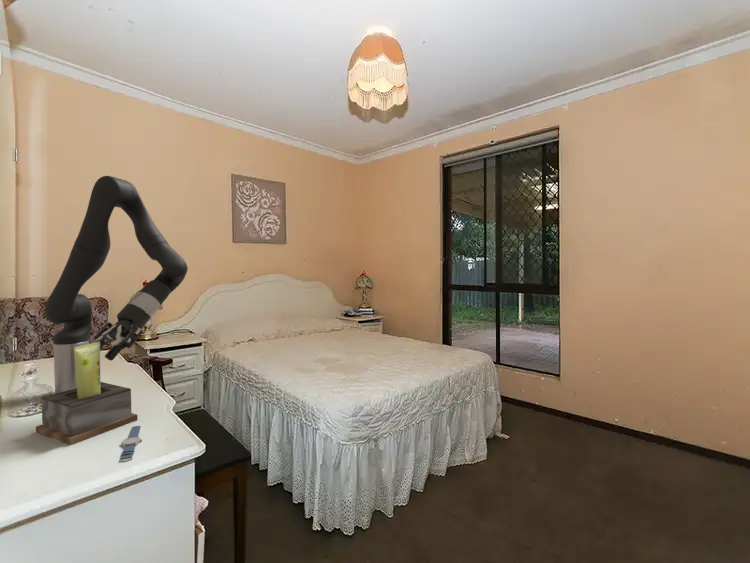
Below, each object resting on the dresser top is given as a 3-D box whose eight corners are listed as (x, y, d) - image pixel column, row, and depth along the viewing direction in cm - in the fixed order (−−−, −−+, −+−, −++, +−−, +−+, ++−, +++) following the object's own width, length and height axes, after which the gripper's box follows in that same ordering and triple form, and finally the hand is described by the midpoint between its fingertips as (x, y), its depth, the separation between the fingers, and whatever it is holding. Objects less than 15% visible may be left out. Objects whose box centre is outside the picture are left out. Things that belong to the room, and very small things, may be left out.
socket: (35, 432, 96) (34, 397, 95) (103, 410, 110) (102, 380, 110) (70, 445, 89) (69, 408, 89) (137, 419, 104) (136, 388, 103)
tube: (100, 417, 99) (98, 345, 98) (76, 422, 96) (73, 347, 95) (102, 410, 104) (99, 341, 103) (79, 414, 101) (76, 343, 100)
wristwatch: (114, 465, 80) (114, 461, 80) (127, 429, 98) (127, 425, 98) (137, 461, 82) (137, 456, 82) (146, 426, 100) (146, 422, 100)
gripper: (115, 301, 112) (72, 346, 102) (145, 303, 106) (103, 352, 96) (133, 316, 117) (94, 361, 107) (163, 320, 111) (124, 367, 101)
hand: (98, 357), depth 102 cm, fingers open, 8 cm apart
